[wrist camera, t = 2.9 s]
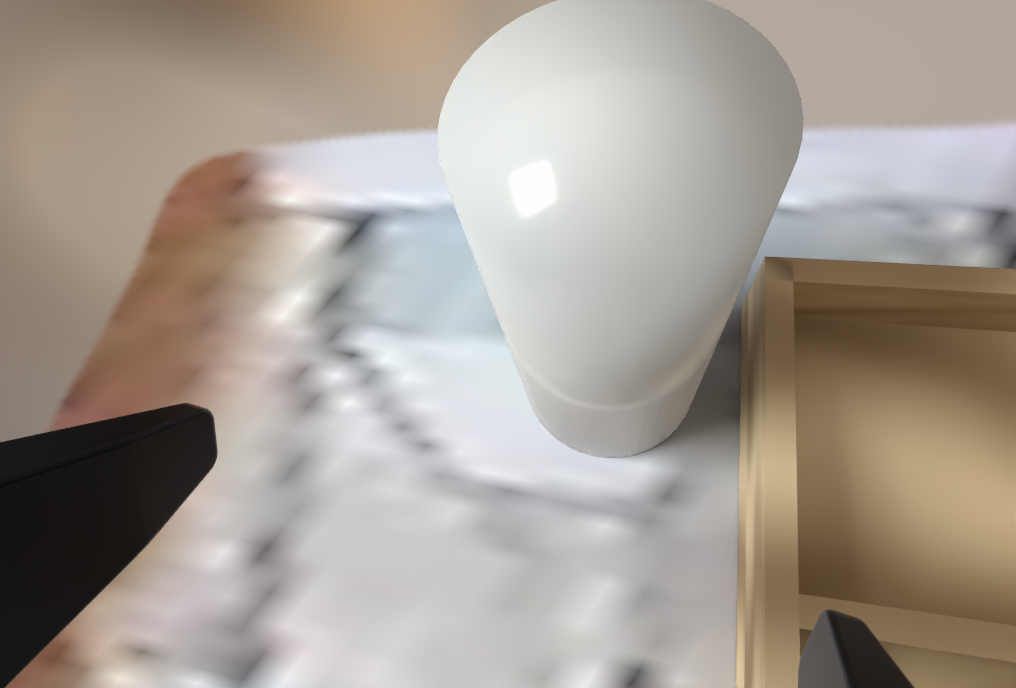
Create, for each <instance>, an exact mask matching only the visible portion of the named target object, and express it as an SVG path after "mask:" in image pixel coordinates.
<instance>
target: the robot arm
mask: <svg viewBox="0 0 1016 688" xmlns="http://www.w3.org/2000/svg"><path fill="white" fill-rule="evenodd" d="M216 459H217V442H216V433H215V423H214V417H213V415H212V413H211V411H209V410H208V409H206V408H203V407H200V406H196V405H193V404H189V403H182V404H177V405H173V406H168V407H163V408H159V409H154V410H149V411H145V412H140V413H135V414H131V415H126V416H121V417H117V418H112V419H107V420H102V421H98V422H93V423H88V424H84V425H79V426H74V427H70V428H65V429H60V430H56V431H51V432H46V433H42V434H37V435H33V436H28V437H23V438H19V439H14V440H9V441H4V442H0V688H5V687H6V686H7V685H8V684H9V683H10V682H11V681H12V680H13V679H14V678H15V677H16V676H17V675H18V674H19V673H20V672H21V671H22V670H23V669H24V668H25V667H26V666H27V665H28V664H29V663H30V662H31V661H32V660H33V659H34V658H35V657H36V656H37V655H38V654H39V653H40V652H41V651H42V650H43V649H44V648H45V647H46V646H47V645H48V644H49V643H50V642H51V641H52V640H53V639H54V638H55V637H56V636H57V635H58V634H59V633H60V632H61V631H62V630H63V629H64V628H65V627H66V626H67V625H68V624H69V623H70V622H71V621H72V620H73V619H74V618H75V617H76V616H77V615H78V614H79V613H80V612H81V611H82V610H83V609H84V608H85V607H86V606H87V605H88V604H89V603H90V602H91V601H92V600H93V599H94V598H95V597H96V596H97V595H98V594H99V593H100V592H101V591H102V590H103V589H104V588H105V587H106V586H107V585H108V584H109V583H110V582H111V581H112V580H113V579H114V578H115V577H116V576H117V575H118V574H119V573H120V572H121V571H122V570H123V569H124V568H125V567H126V566H127V565H128V564H129V563H130V562H131V561H132V560H133V559H134V558H135V557H136V556H137V555H138V554H139V553H140V552H141V551H142V550H143V549H144V548H145V547H146V546H147V545H148V544H149V543H150V541H151V540H152V539H153V538H154V537H155V536H156V535H157V533H158V532H159V531H160V530H161V529H162V528H163V526H164V525H165V524H166V523H167V522H168V520H169V519H170V518H171V517H172V516H173V514H174V513H175V512H176V511H177V510H178V508H179V507H180V506H181V505H182V504H183V502H184V501H185V500H186V499H187V498H188V496H189V495H190V494H191V493H192V492H193V491H194V489H195V488H196V487H197V486H198V485H199V483H200V482H201V481H202V480H203V479H204V477H205V476H206V475H207V474H208V473H209V471H210V470H211V469H212V467H213V466H214V464H215V462H216ZM798 688H914V686H913V685H912V684H911V682H910V681H909V680H908V678H907V677H906V676H905V674H904V673H903V672H902V671H901V669H900V668H899V667H898V665H897V664H896V663H895V661H894V660H893V659H892V657H891V656H890V655H889V653H888V652H887V651H886V650H885V648H884V647H883V646H882V644H881V643H880V642H879V640H878V639H877V638H876V636H875V635H874V634H873V632H872V631H871V630H870V629H869V627H868V626H867V625H866V624H865V623H864V622H863V621H862V620H861V619H859V618H857V617H854V616H851V615H848V614H844V613H841V612H838V611H835V610H832V609H827V610H824V611H823V612H822V613H821V614H820V616H819V618H818V620H817V622H816V624H815V626H814V628H813V631H812V633H811V635H810V637H809V639H808V641H807V644H806V646H805V648H804V650H803V652H802V655H801V658H800V663H799V669H798Z"/></svg>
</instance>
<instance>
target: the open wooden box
mask: <svg viewBox="0 0 1016 688" xmlns="http://www.w3.org/2000/svg"><path fill="white" fill-rule="evenodd" d="M827 609H832V610H835V611H838V612H841V613H844V614H848V615H851V616H854V617H857V618H859V619H861V620H862V621H863V622H864V623H865V624H866V625H867V626H868V627H869V629H870V630H871V631H872V632H873V634H874V635H875V636H876V638H877V639H878V640H879V642H880V643H881V644H882V646H883V647H884V648H885V650H886V651H887V652H888V653H889V655H890V656H891V657H892V659H893V660H894V661H895V663H896V664H897V665H898V667H899V668H900V669H901V671H902V672H903V673H904V674H905V676H906V677H907V678H908V680H909V681H910V682H911V684H912V685H913V686H914V688H1016V269H1000V268H980V267H961V266H941V265H921V264H901V263H881V262H862V261H842V260H822V259H802V258H782V257H765V258H764V260H763V262H762V265H761V267H760V269H759V271H758V273H757V275H756V278H755V280H754V282H753V284H752V286H751V288H750V291H749V293H748V295H747V297H746V299H745V302H744V304H743V306H742V318H741V386H740V455H739V523H738V592H737V660H736V688H798V669H799V663H800V658H801V655H802V652H803V650H804V648H805V646H806V644H807V641H808V639H809V637H810V635H811V633H812V631H813V628H814V626H815V624H816V622H817V620H818V618H819V616H820V614H821V613H822V612H823V611H824V610H827Z"/></svg>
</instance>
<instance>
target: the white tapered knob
mask: <svg viewBox="0 0 1016 688" xmlns="http://www.w3.org/2000/svg"><path fill="white" fill-rule="evenodd" d="M802 132H803V113H802V105H801V98H800V95H799V92H798V88H797V85H796V82H795V79H794V78H793V75H792V73H791V71H790V69H789V67H788V65H787V63H786V62H785V61H784V59H783V58H782V56H781V55H780V54H779V52H778V51H777V50H776V48H775V47H774V46H773V45H772V44H771V43H770V42H769V41H768V40H767V39H766V38H765V37H764V36H763V34H762V33H760V32H759V31H758V30H756V29H755V28H754V27H753V26H751V25H750V24H749V23H748V22H746V21H745V20H743V19H742V18H740V17H738V16H736V15H735V14H733V13H731V12H730V11H728V10H726V9H724V8H721V7H719V6H717V5H715V4H713V3H710V2H708V1H705V0H557V1H555V2H552V3H549V4H546V5H543V6H541V7H539V8H537V9H535V10H533V11H531V12H529V13H526V14H524V15H523V16H521V17H519V18H518V19H516V20H514V21H513V22H511V23H509V24H508V25H506V26H505V27H503V28H502V29H501V30H500V31H498V32H497V33H495V34H494V35H493V36H491V37H490V38H489V39H488V40H487V41H486V42H485V43H484V44H483V45H482V46H480V47H479V48H478V49H477V50H476V51H475V53H474V54H473V55H472V56H471V57H470V58H469V60H468V61H467V62H466V63H465V64H464V66H463V67H462V69H461V70H460V72H459V73H458V75H457V77H456V78H455V79H454V81H453V83H452V85H451V87H450V90H449V92H448V94H447V96H446V98H445V101H444V104H443V108H442V111H441V114H440V120H439V126H438V155H439V161H440V167H441V171H442V173H443V176H444V179H445V182H446V185H447V188H448V190H449V193H450V195H451V198H452V201H453V203H454V206H455V208H456V211H457V214H458V216H459V219H460V221H461V224H462V227H463V229H464V232H465V234H466V237H467V240H468V242H469V245H470V247H471V250H472V253H473V255H474V258H475V260H476V263H477V266H478V268H479V271H480V273H481V276H482V279H483V281H484V284H485V286H486V289H487V292H488V294H489V297H490V299H491V302H492V305H493V307H494V310H495V312H496V315H497V317H498V320H499V323H500V325H501V328H502V330H503V333H504V336H505V338H506V341H507V343H508V346H509V349H510V351H511V354H512V356H513V359H514V362H515V364H516V367H517V369H518V372H519V375H520V377H521V380H522V382H523V385H524V388H525V390H526V393H527V395H528V398H529V401H530V403H531V406H532V408H533V410H534V412H535V414H536V416H537V418H538V419H539V420H540V422H541V423H542V425H543V426H544V427H545V428H546V429H547V430H548V431H549V433H550V434H551V435H553V436H554V437H555V438H556V439H558V440H559V441H560V442H562V443H563V444H565V445H567V446H568V447H570V448H572V449H574V450H577V451H579V452H582V453H585V454H588V455H592V456H598V457H609V458H615V457H626V456H631V455H635V454H638V453H641V452H644V451H647V450H649V449H651V448H653V447H655V446H657V445H658V444H660V443H661V442H663V441H664V440H665V439H667V438H668V437H669V436H670V435H671V434H672V433H673V432H674V431H675V430H676V429H677V428H678V426H679V425H680V424H681V423H682V421H683V420H684V418H685V416H686V415H687V413H688V411H689V408H690V406H691V404H692V401H693V399H694V397H695V394H696V392H697V390H698V387H699V385H700V383H701V381H702V378H703V376H704V374H705V371H706V369H707V367H708V364H709V362H710V360H711V357H712V355H713V353H714V351H715V348H716V346H717V344H718V341H719V339H720V337H721V334H722V332H723V330H724V327H725V325H726V323H727V321H728V318H729V316H730V314H731V311H732V309H733V307H734V304H735V302H736V300H737V297H738V295H739V293H740V291H741V288H742V286H743V284H744V281H745V279H746V277H747V274H748V272H749V270H750V267H751V265H752V263H753V261H754V258H755V256H756V254H757V251H758V249H759V247H760V244H761V242H762V240H763V237H764V235H765V233H766V231H767V228H768V226H769V224H770V221H771V219H772V217H773V214H774V212H775V210H776V207H777V205H778V203H779V201H780V198H781V196H782V194H783V191H784V189H785V187H786V184H787V182H788V180H789V177H790V175H791V173H792V170H793V168H794V165H795V163H796V161H797V158H798V154H799V150H800V145H801V141H802Z"/></svg>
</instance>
